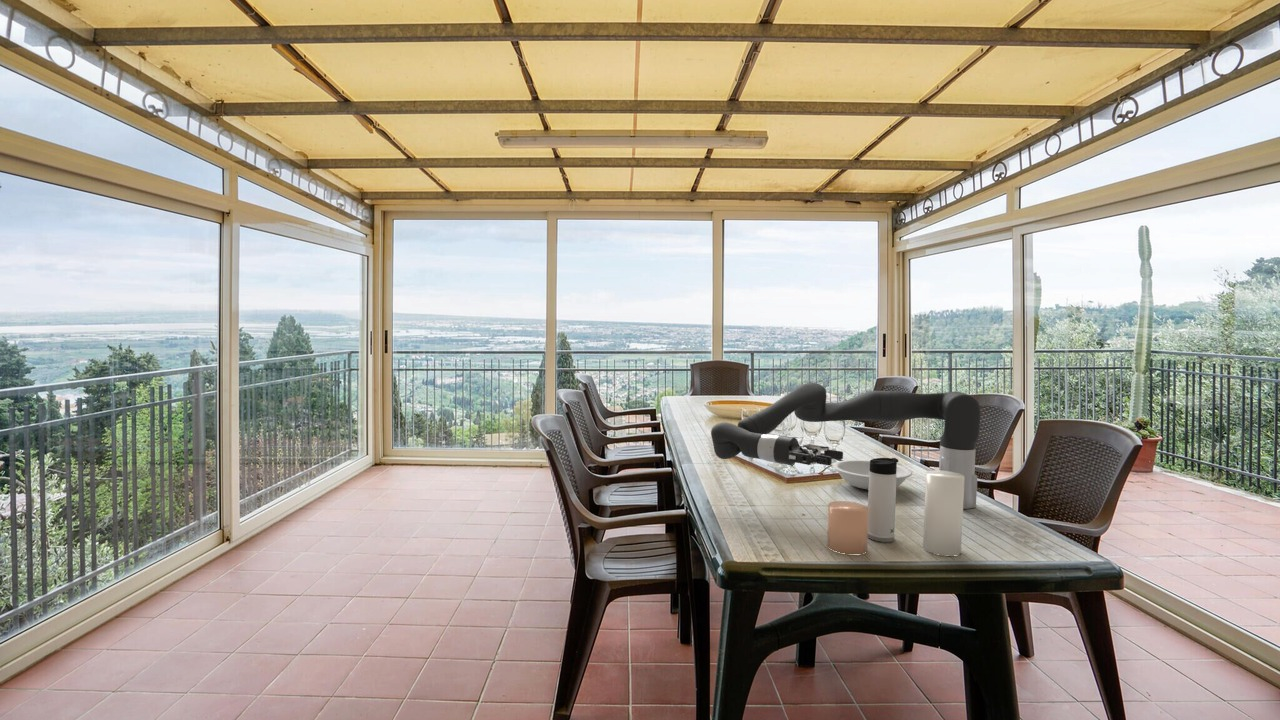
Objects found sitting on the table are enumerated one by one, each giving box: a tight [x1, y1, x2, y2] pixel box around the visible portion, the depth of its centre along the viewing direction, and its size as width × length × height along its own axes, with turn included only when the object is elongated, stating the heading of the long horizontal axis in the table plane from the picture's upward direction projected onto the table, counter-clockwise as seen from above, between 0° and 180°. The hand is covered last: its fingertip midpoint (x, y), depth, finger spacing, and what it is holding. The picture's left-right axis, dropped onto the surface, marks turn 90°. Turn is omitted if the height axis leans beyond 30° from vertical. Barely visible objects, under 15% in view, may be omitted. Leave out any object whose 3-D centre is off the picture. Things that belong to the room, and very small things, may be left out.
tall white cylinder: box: [922, 469, 965, 556], centre depth 138 cm, size 8×8×18 cm
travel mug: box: [867, 457, 899, 543], centre depth 145 cm, size 6×7×20 cm
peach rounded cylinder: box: [826, 500, 869, 554], centre depth 138 cm, size 9×9×10 cm
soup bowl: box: [832, 459, 913, 491], centre depth 191 cm, size 24×24×7 cm
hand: (837, 458), depth 151 cm, fingers open, 8 cm apart
